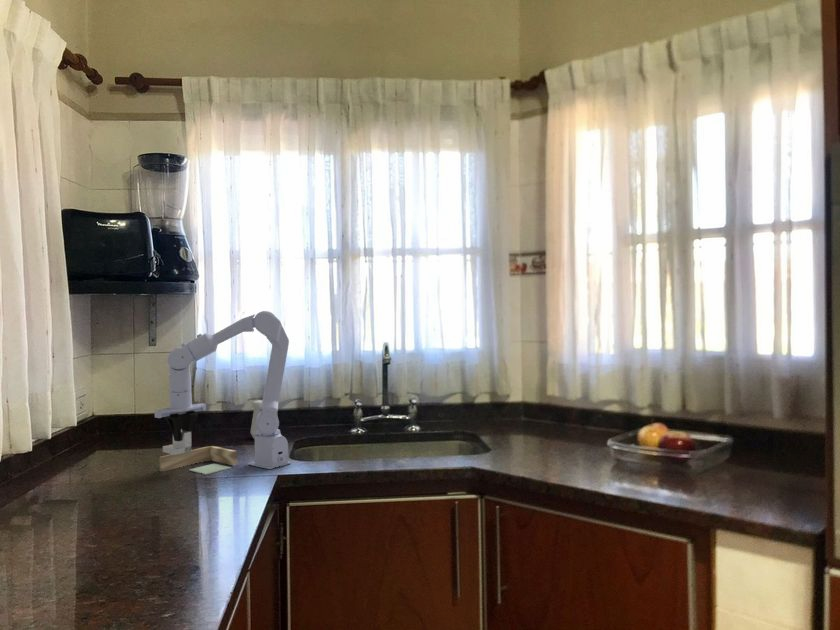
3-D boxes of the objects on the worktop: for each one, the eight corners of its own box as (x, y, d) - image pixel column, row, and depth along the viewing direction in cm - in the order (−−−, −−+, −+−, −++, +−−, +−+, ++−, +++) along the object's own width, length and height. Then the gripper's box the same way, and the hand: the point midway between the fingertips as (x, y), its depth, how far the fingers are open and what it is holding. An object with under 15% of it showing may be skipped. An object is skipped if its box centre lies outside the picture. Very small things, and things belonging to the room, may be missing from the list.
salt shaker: (265, 439, 214) (264, 401, 214) (248, 439, 214) (247, 402, 214) (269, 436, 220) (269, 399, 220) (253, 436, 220) (252, 399, 220)
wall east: (212, 459, 186) (211, 446, 186) (162, 471, 174) (161, 457, 174) (209, 459, 187) (209, 445, 187) (159, 471, 174) (159, 456, 174)
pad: (231, 468, 176) (230, 467, 176) (205, 474, 170) (205, 473, 170) (214, 464, 181) (214, 463, 181) (189, 470, 174) (189, 469, 174)
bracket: (191, 451, 173) (191, 431, 173) (174, 455, 169) (174, 434, 169) (179, 448, 176) (179, 428, 176) (162, 451, 172) (162, 431, 172)
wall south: (237, 464, 180) (237, 450, 180) (233, 465, 179) (233, 451, 179) (212, 459, 187) (212, 445, 187) (209, 459, 186) (208, 446, 186)
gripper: (195, 387, 182) (196, 433, 182) (148, 393, 170) (149, 443, 170) (209, 388, 177) (211, 436, 178) (162, 395, 166) (163, 446, 166)
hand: (181, 440), depth 174 cm, fingers closed on bracket
